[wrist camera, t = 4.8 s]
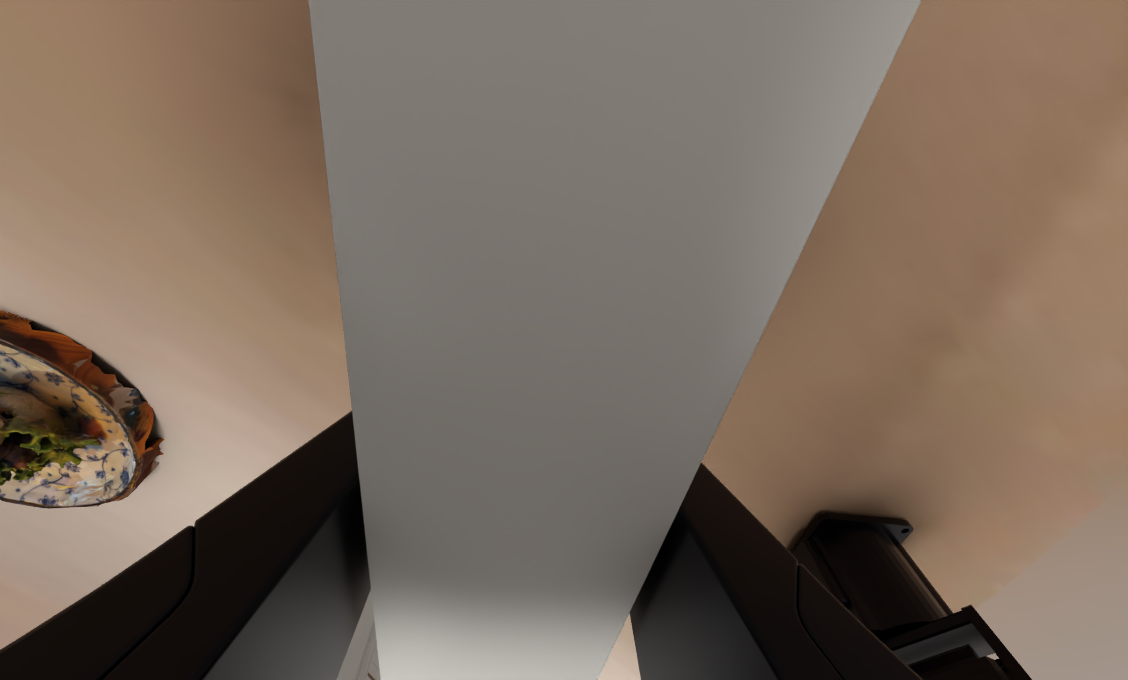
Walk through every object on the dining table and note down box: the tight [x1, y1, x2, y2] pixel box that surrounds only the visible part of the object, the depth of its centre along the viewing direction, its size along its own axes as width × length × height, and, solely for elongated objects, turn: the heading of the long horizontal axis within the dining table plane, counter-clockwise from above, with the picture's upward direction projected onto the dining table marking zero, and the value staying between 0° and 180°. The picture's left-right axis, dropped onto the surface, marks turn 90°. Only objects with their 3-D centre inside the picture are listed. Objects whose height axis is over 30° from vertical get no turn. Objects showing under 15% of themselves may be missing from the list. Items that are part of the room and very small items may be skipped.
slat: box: [309, 0, 921, 680], centre depth 7 cm, size 4×12×4 cm, turn 170°
